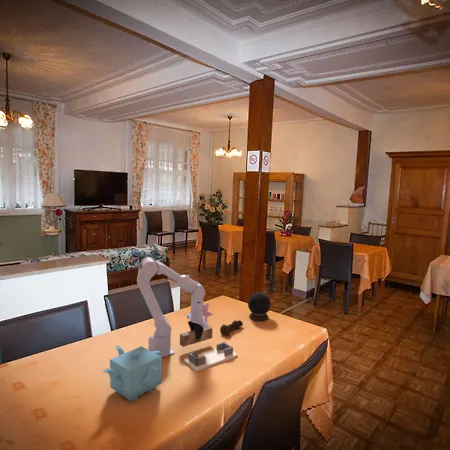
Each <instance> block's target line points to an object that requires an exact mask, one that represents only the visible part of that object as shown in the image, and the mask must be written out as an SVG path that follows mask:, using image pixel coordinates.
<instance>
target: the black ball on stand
mask: <svg viewBox="0 0 450 450" xmlns="http://www.w3.org/2000/svg"><path fill="white" fill-rule="evenodd" d="M271 306H272V302H271V299H270V297H269V296H268V295H267V294H266V293H264V292H260V291H257V292H254V293H252V294H251V295H250V296H249V298H248V300H247V307H248V310H249V311H250V312H251V313H250V314H249V316H248V318H249V320H251V321H253V322H266V321H268V320H269V316H268V313H269V311H270V310H271Z"/></svg>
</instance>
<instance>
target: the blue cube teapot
mask: <svg viewBox="0 0 450 450" xmlns="http://www.w3.org/2000/svg"><path fill="white" fill-rule="evenodd" d="M115 348H116V351H117V353H118V356H115V357H113V358H110V359H109V368H106V369H103V370H102V373H106V374H108V376H109V379H110V380H109V385H110V386H109V387H110V388H111V389H113V390H114V391H115V392H116V393H118V394H120V395H121V396H122V397H124V399H126V400H128V401H131V402H135V401H138V399H139V396H140V395H143V394H144V393H146V392H149V393H150V392H153V391H154V390H155V387H157V386H159V385H161V384H162V357H161V352H160V351H153V352H152V351H150V350H148V349H147V348H145V347H144V346H142V345H141V346H139V347H136V348H134V349H132V350H129V351H127V352H125V351H124V349H123V348H122V347H121V346H119V345H115Z"/></svg>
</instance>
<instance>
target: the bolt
mask: <svg viewBox="0 0 450 450" xmlns="http://www.w3.org/2000/svg"><path fill="white" fill-rule="evenodd" d="M243 324H244V322H243V321H242V320H240V319H239V320H233V321H232V323H230V324H227V325H226V324H222V325H221V326H220V327H219V331H220V334H221V335H222V336H224V337H225V336H226V337H227V336H229V335H230V333H231V332H232V331H234V330H235V331H238V330H239V329H240V328H241V327H242V326H243Z"/></svg>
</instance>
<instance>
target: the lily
mask: <svg viewBox="0 0 450 450" xmlns="http://www.w3.org/2000/svg"><path fill="white" fill-rule="evenodd" d="M209 307H210V305H209V302H207V303H205V304H203V317H205V319H204V320H205V322H206V323H207V324H208V317H211V316H213V313H212V312H211V311H209ZM190 313H191V311H189V312H188V314H190Z"/></svg>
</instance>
